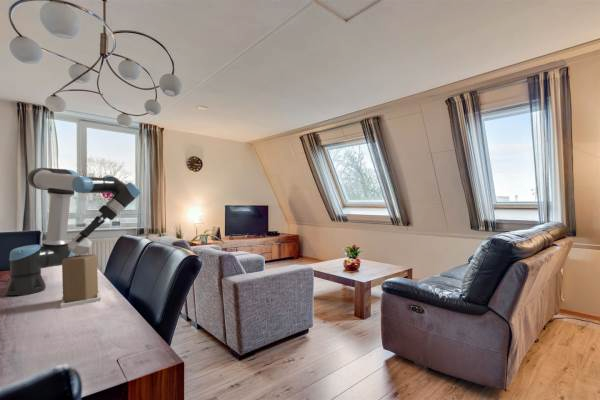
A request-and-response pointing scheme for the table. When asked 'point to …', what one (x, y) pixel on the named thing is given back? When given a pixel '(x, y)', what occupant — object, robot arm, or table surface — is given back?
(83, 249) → the die
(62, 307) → the base frame
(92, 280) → the wooden block
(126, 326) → the table surface
